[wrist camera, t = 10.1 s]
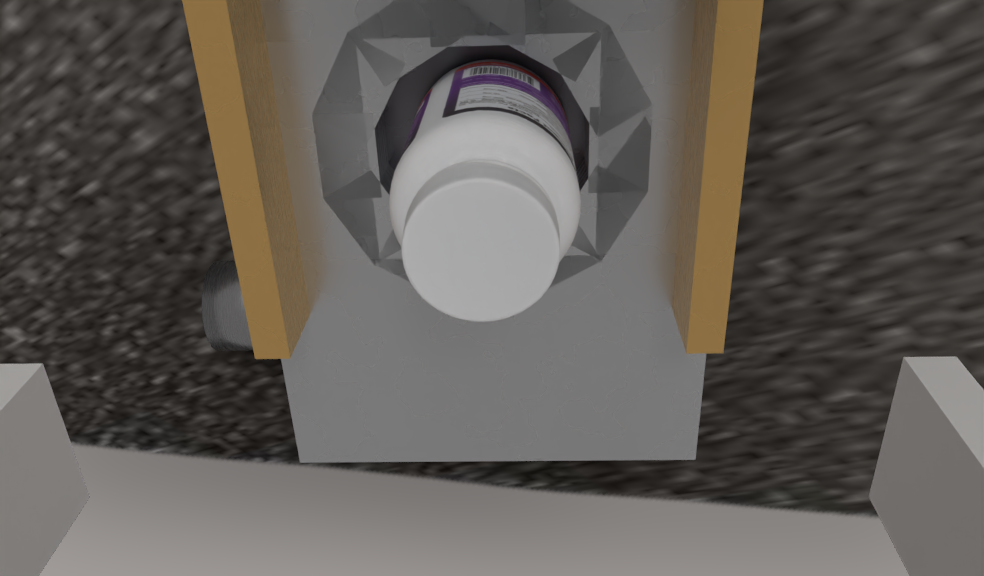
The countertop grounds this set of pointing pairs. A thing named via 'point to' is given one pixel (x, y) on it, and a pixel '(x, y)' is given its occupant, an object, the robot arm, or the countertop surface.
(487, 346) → the grey clamp fixture
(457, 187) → the pill bottle
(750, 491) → the countertop surface
